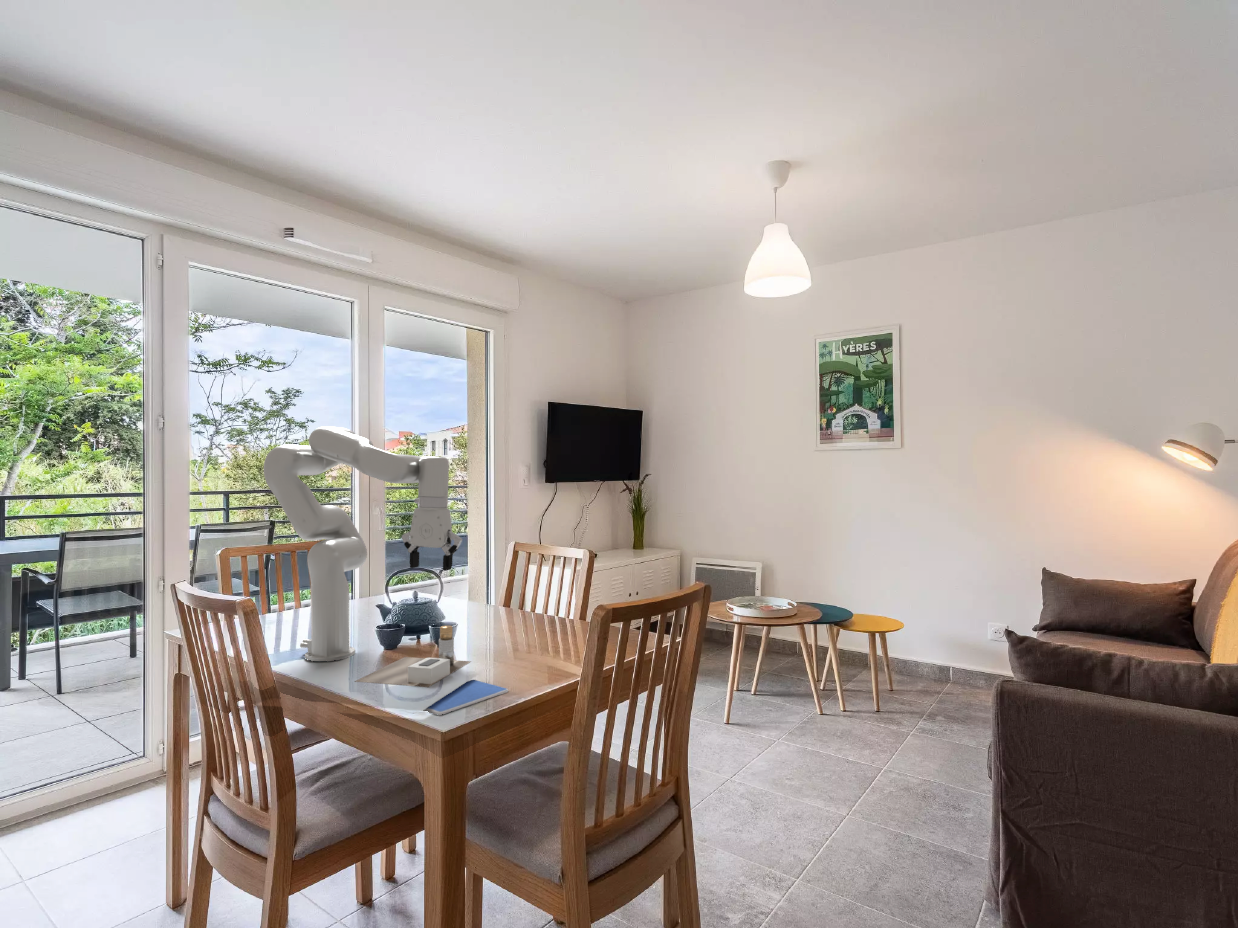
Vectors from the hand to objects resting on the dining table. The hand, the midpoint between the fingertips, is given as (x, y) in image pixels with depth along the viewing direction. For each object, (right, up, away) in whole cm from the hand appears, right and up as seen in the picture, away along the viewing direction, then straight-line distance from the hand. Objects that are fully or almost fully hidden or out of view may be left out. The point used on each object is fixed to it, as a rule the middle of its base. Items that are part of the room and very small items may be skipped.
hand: (430, 568), depth 174 cm
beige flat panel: (0, -24, -13) cm, 28 cm away
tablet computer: (+14, -25, -28) cm, 40 cm away
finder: (+5, -23, -19) cm, 30 cm away
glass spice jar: (+6, -23, -9) cm, 25 cm away
